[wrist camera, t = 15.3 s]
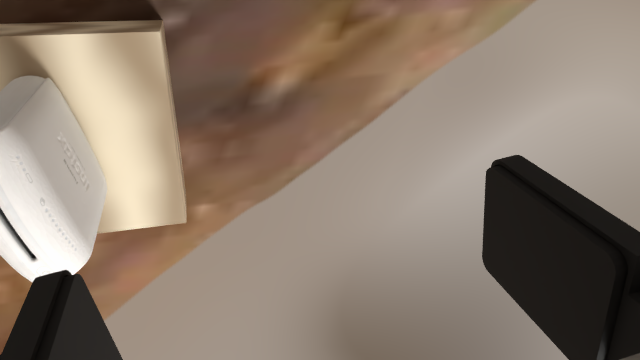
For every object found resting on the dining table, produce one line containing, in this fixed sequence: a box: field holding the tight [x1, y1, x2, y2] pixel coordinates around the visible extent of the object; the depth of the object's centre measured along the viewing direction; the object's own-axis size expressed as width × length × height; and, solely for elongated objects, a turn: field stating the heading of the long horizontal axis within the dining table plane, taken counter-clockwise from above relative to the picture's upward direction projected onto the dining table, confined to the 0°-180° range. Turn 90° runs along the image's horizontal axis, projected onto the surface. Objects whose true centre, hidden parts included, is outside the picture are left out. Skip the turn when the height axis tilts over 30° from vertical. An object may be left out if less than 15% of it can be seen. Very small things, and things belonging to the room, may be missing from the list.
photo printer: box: [0, 76, 107, 282], centre depth 30 cm, size 10×4×12 cm, turn 13°
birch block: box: [0, 20, 186, 233], centre depth 38 cm, size 16×16×6 cm
